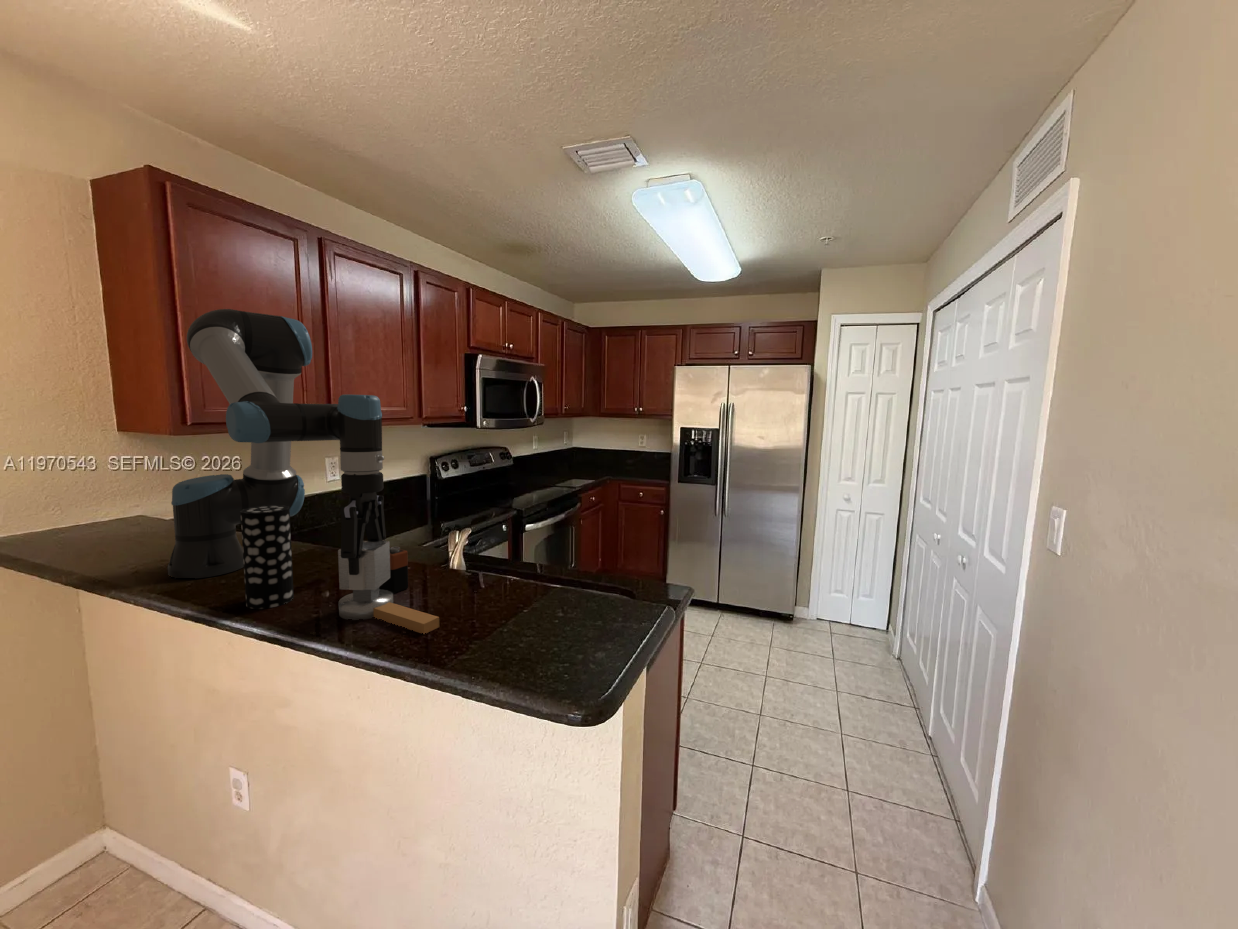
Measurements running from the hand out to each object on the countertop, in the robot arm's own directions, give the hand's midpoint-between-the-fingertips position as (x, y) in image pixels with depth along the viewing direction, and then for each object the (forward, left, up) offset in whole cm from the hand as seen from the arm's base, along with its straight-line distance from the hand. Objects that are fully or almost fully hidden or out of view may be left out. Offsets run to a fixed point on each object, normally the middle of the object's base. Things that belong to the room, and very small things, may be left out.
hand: (366, 582), depth 100 cm
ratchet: (+6, -3, -6) cm, 9 cm away
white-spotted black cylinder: (-22, +4, -6) cm, 23 cm away
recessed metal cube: (0, 0, 0) cm, 0 cm away
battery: (0, +12, -6) cm, 13 cm away
